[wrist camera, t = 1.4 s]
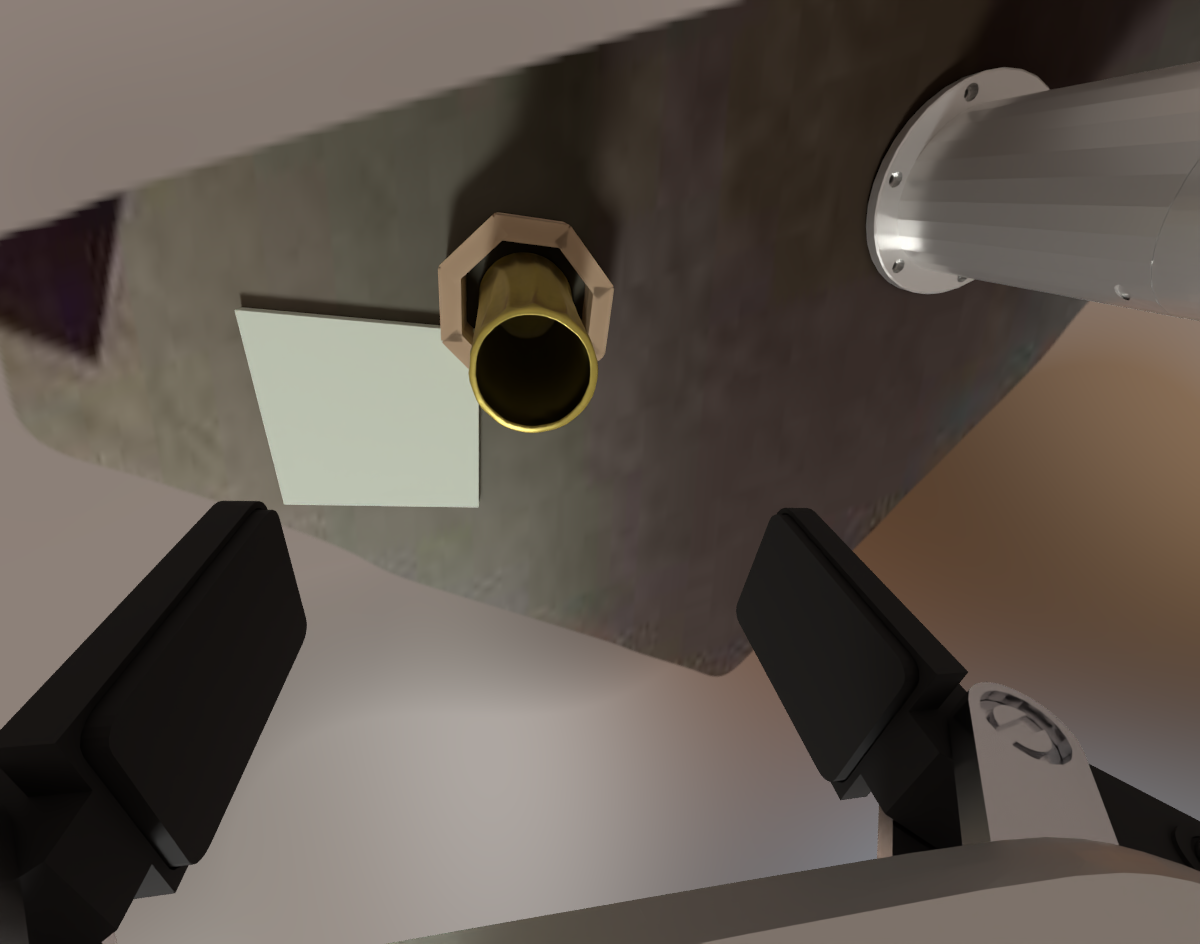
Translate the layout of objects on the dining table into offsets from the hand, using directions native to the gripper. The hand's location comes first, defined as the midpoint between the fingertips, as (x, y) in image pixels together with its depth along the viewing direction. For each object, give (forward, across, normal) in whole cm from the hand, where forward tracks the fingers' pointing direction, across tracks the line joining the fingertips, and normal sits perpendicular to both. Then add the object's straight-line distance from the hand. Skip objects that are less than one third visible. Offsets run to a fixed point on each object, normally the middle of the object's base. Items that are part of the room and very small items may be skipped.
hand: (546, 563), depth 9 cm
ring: (+25, 0, 0) cm, 25 cm away
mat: (+25, +10, +9) cm, 28 cm away
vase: (+26, 0, 0) cm, 26 cm away
